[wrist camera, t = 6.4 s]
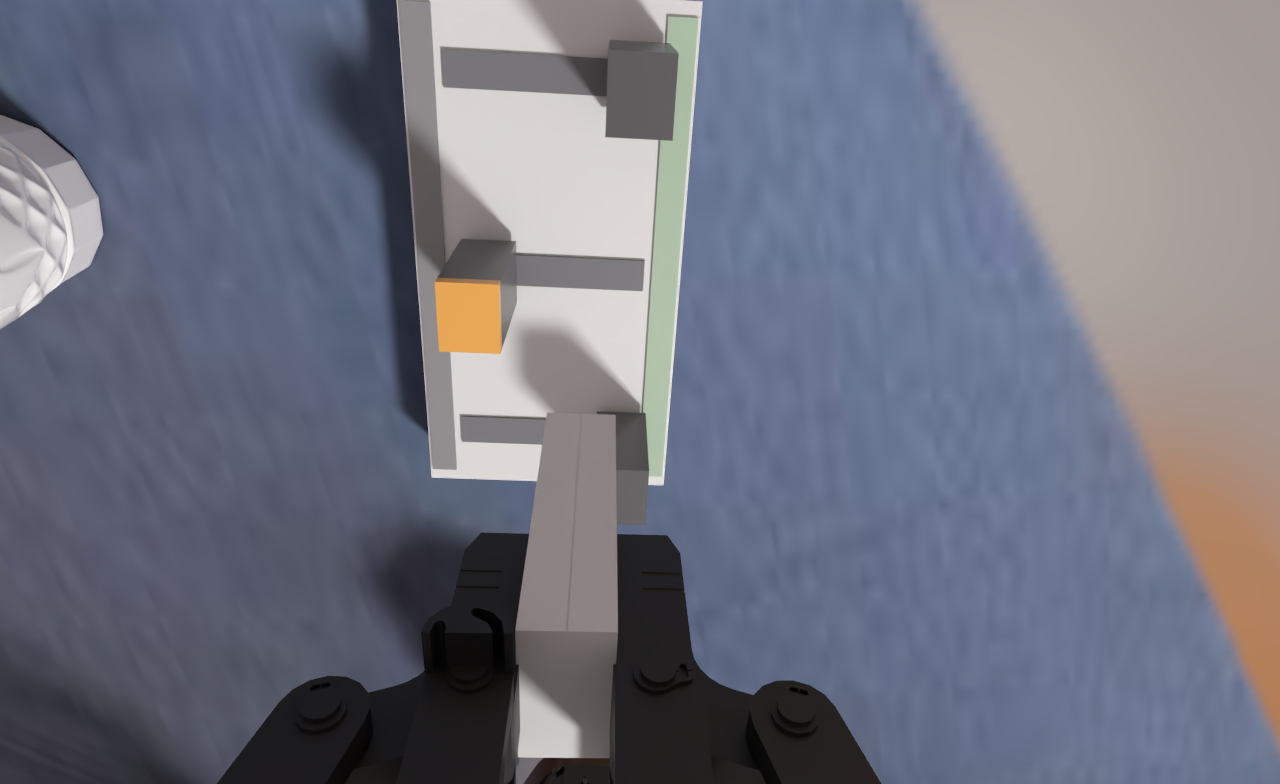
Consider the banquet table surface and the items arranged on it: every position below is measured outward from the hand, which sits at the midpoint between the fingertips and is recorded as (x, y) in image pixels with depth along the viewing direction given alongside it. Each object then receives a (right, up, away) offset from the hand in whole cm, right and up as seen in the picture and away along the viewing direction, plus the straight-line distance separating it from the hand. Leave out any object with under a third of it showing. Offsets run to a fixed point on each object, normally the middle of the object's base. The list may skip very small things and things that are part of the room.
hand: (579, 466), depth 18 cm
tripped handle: (-4, +6, +12) cm, 14 cm away
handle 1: (+1, +12, +9) cm, 15 cm away
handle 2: (+1, 0, +16) cm, 15 cm away
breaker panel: (-2, +7, +15) cm, 17 cm away
